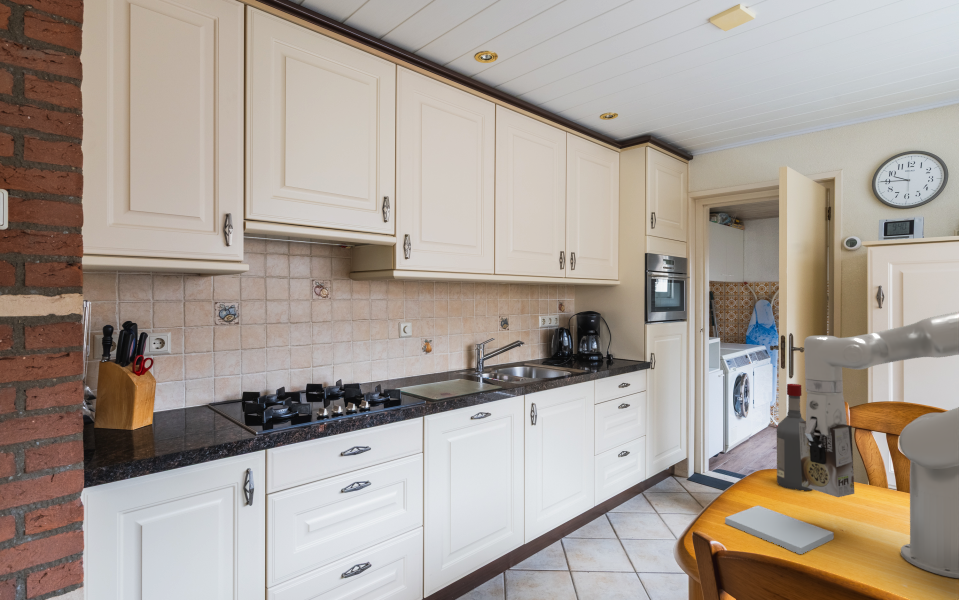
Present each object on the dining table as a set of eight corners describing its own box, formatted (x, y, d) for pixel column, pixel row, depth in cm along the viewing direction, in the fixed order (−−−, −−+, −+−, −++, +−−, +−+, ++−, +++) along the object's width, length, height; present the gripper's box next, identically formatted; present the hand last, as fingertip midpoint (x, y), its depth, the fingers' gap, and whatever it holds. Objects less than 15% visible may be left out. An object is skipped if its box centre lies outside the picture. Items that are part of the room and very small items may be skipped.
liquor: (812, 482, 154) (811, 383, 153) (813, 492, 146) (813, 388, 145) (777, 477, 158) (776, 381, 158) (776, 487, 150) (776, 385, 150)
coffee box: (856, 493, 120) (853, 425, 120) (837, 498, 118) (835, 428, 118) (817, 481, 129) (815, 418, 129) (800, 485, 126) (797, 420, 127)
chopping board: (833, 538, 118) (833, 532, 118) (800, 554, 111) (800, 548, 111) (758, 510, 134) (758, 505, 134) (725, 523, 127) (725, 517, 127)
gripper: (821, 392, 116) (824, 470, 116) (858, 384, 125) (861, 457, 124) (788, 388, 122) (790, 462, 122) (825, 381, 131) (827, 450, 131)
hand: (826, 459), depth 123 cm, fingers closed on coffee box, 6 cm apart
